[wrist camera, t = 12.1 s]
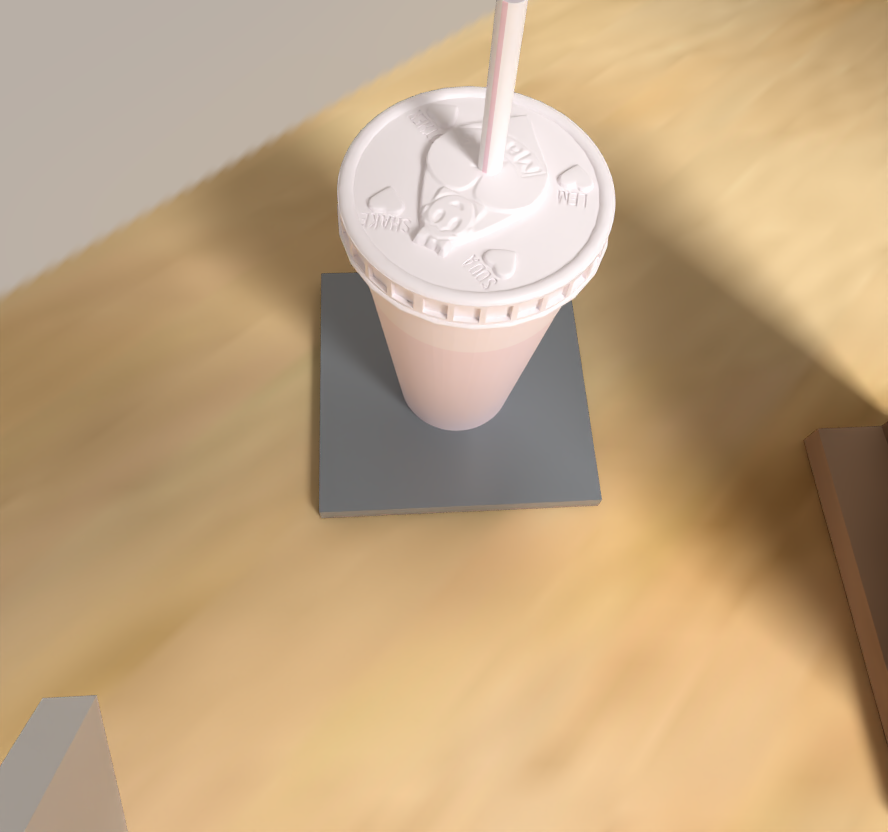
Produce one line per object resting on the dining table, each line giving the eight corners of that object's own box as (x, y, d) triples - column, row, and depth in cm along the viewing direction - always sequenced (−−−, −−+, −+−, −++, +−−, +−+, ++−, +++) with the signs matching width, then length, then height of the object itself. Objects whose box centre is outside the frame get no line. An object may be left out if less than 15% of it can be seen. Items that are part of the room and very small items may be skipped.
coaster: (563, 276, 28) (566, 266, 28) (597, 505, 25) (601, 499, 24) (323, 283, 28) (321, 273, 27) (321, 517, 24) (319, 512, 24)
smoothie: (580, 356, 26) (740, -21, 13) (489, 505, 24) (577, 219, 11) (424, 273, 27) (436, -146, 15) (323, 407, 25) (230, 47, 12)
